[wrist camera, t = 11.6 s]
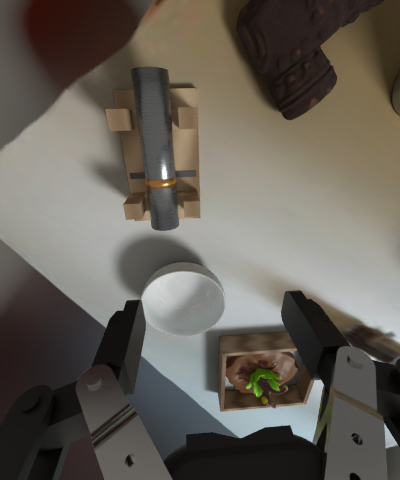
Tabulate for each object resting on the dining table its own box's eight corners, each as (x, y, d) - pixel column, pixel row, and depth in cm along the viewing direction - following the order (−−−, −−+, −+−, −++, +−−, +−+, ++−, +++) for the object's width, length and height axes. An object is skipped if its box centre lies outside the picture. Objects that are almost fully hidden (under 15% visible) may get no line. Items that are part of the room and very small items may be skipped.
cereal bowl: (134, 260, 46) (126, 281, 39) (213, 243, 45) (218, 262, 39) (158, 318, 53) (154, 344, 47) (226, 305, 53) (231, 329, 46)
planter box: (315, 329, 58) (326, 346, 54) (298, 386, 70) (306, 404, 66) (219, 336, 57) (222, 353, 53) (218, 393, 69) (220, 411, 64)
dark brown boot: (295, 126, 29) (428, 18, 23) (223, 13, 25) (366, -163, 18) (280, 122, 38) (375, 41, 31) (224, 36, 33) (323, -79, 27)
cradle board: (196, 89, 33) (200, 79, 26) (199, 215, 42) (203, 232, 35) (114, 90, 32) (96, 81, 26) (135, 218, 41) (126, 236, 35)
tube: (137, 75, 29) (124, 67, 25) (171, 74, 28) (164, 65, 24) (155, 219, 38) (147, 230, 34) (181, 219, 38) (177, 230, 34)
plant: (271, 330, 58) (289, 373, 48) (303, 365, 66) (324, 407, 56) (210, 364, 63) (215, 409, 53) (247, 392, 71) (257, 436, 61)
